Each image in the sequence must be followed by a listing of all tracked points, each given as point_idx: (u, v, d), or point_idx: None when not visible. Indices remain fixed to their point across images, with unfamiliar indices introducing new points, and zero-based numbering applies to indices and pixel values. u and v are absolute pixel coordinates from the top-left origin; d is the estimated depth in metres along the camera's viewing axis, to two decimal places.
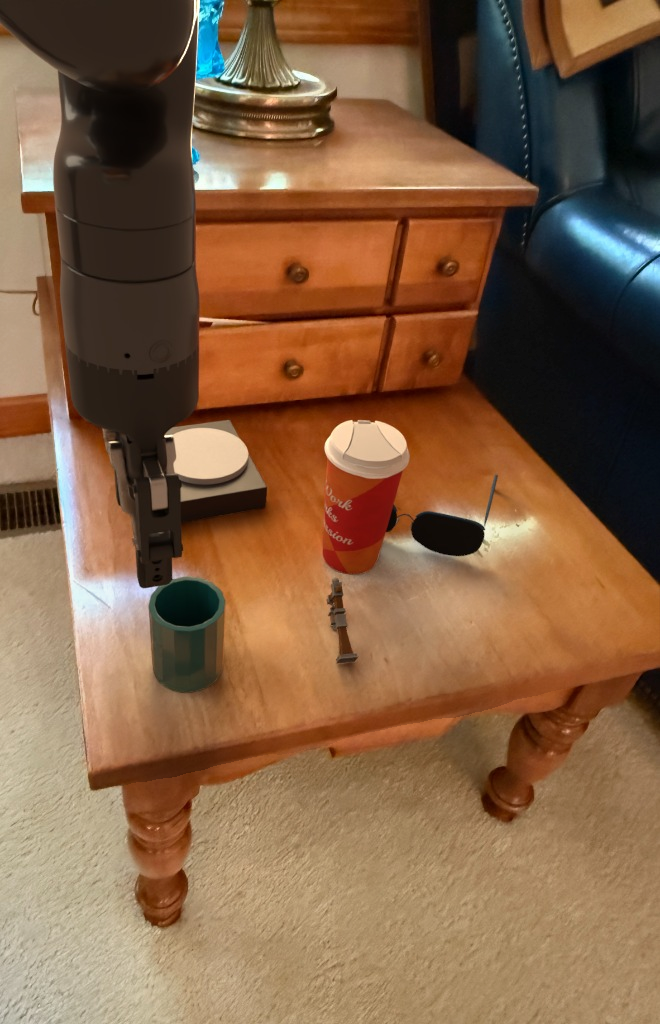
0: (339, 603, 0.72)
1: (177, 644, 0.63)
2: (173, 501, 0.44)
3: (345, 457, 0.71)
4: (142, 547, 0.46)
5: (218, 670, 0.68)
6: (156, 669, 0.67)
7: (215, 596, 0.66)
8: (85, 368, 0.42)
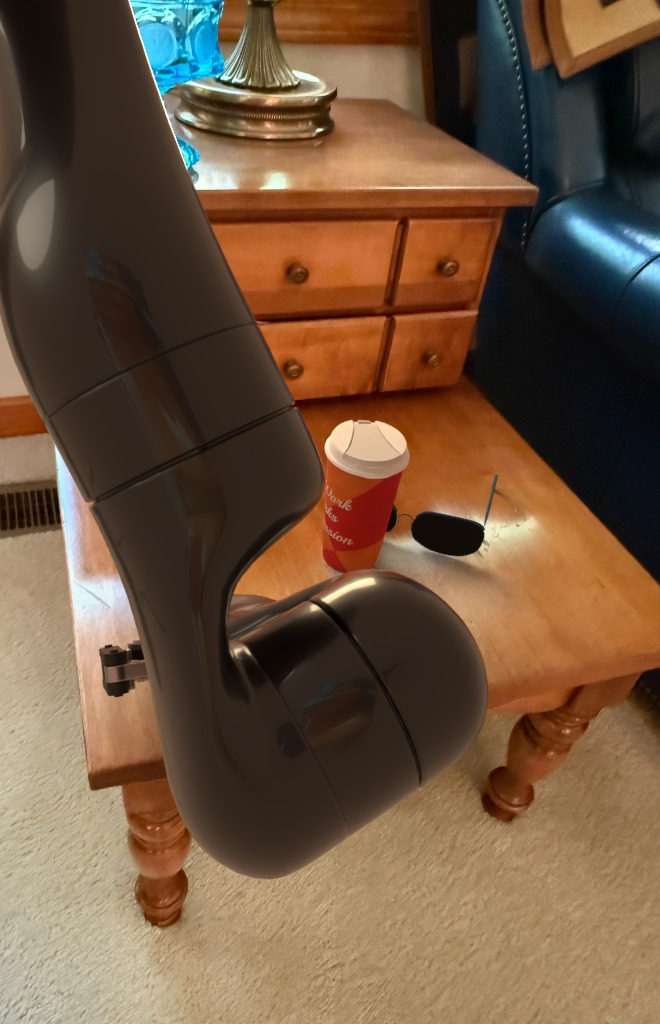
0: None
1: None
2: (106, 686, 0.46)
3: (345, 457, 0.71)
4: None
5: None
6: None
7: None
8: None
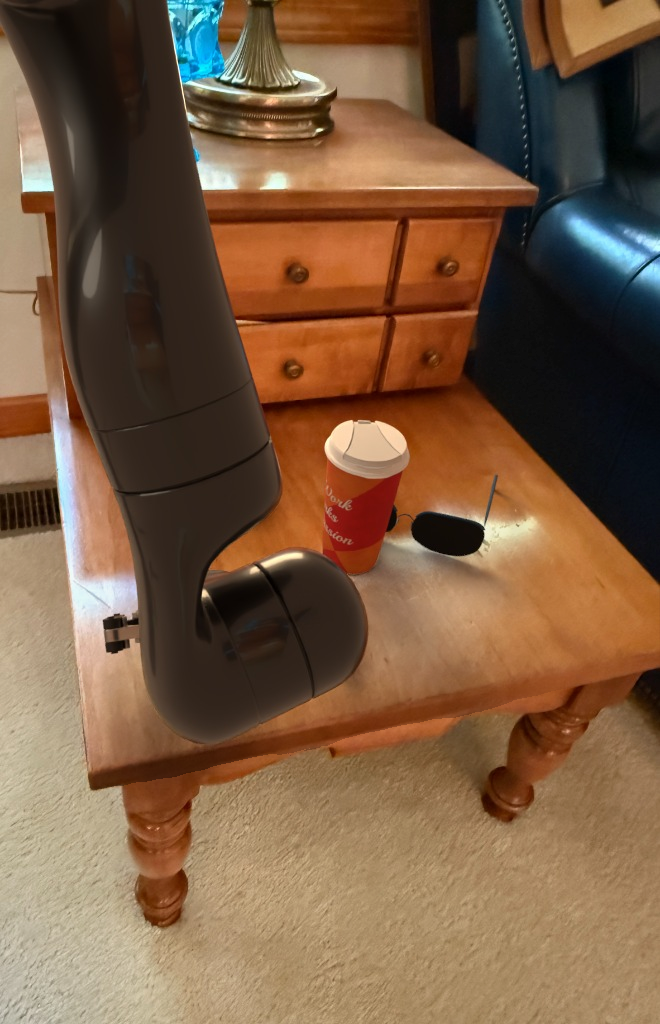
0: None
1: None
2: None
3: (345, 457, 0.71)
4: None
5: None
6: None
7: None
8: None
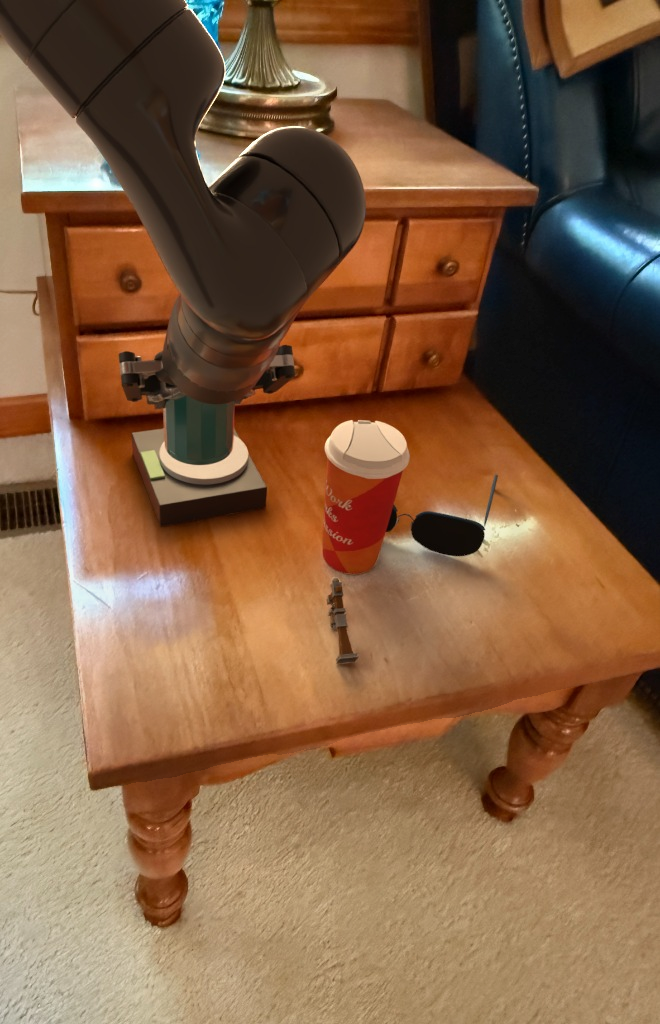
0: (339, 603, 0.72)
1: (189, 404, 0.65)
2: None
3: (345, 457, 0.71)
4: None
5: (228, 447, 0.70)
6: (168, 441, 0.69)
7: None
8: None
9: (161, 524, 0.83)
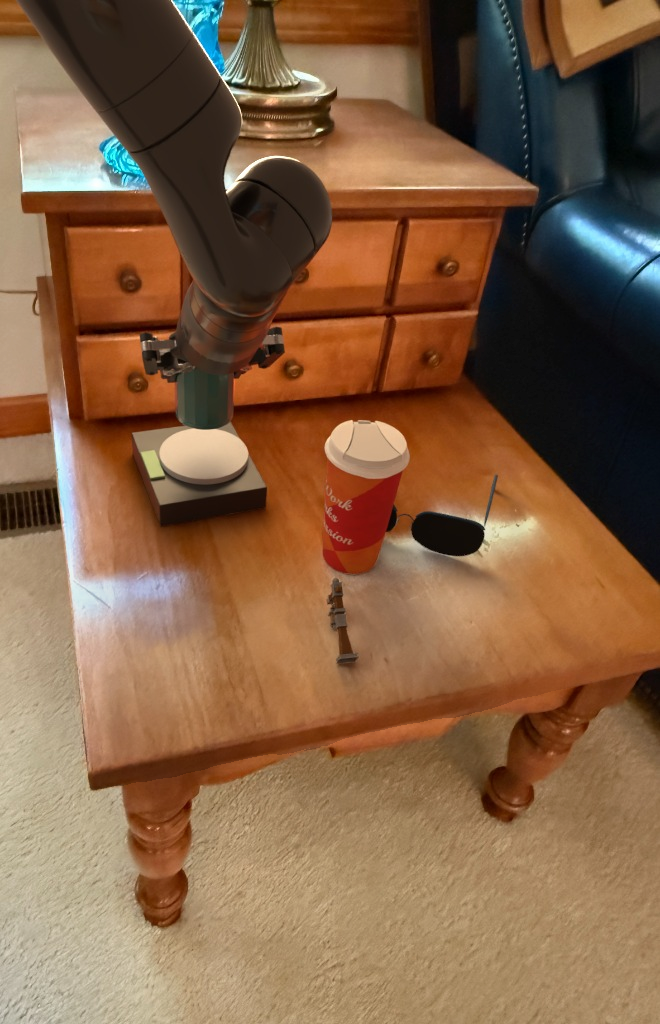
0: (339, 603, 0.72)
1: (197, 377, 0.78)
2: None
3: (345, 457, 0.71)
4: None
5: (229, 414, 0.83)
6: (179, 410, 0.82)
7: None
8: None
9: (161, 524, 0.83)
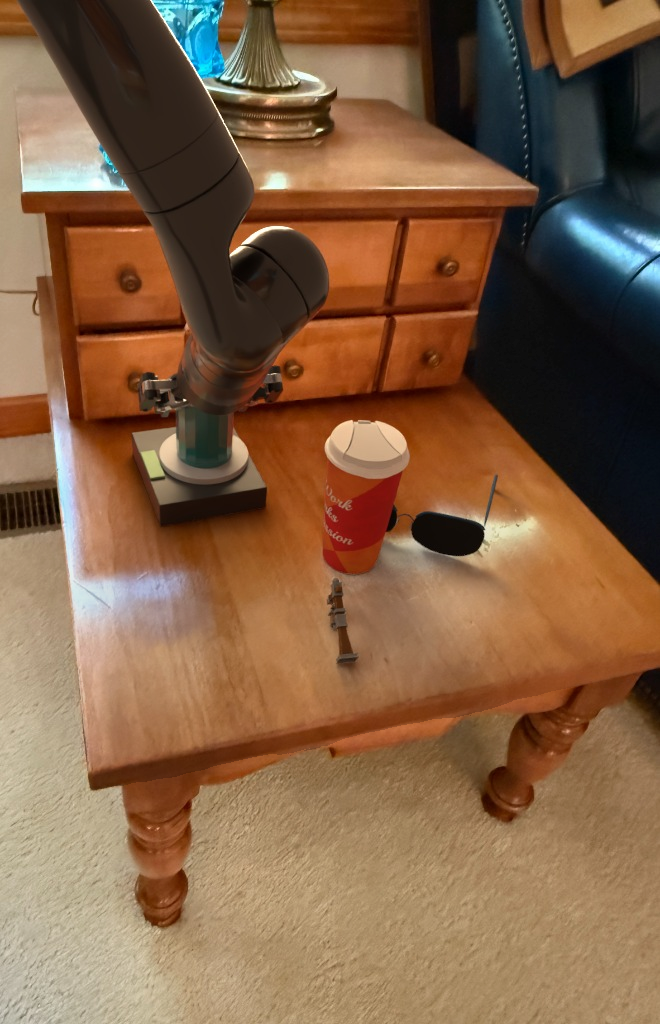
0: (339, 603, 0.72)
1: (197, 420, 0.82)
2: (143, 396, 0.75)
3: (345, 457, 0.71)
4: (137, 385, 0.78)
5: (228, 453, 0.87)
6: (180, 449, 0.85)
7: None
8: None
9: (161, 524, 0.83)
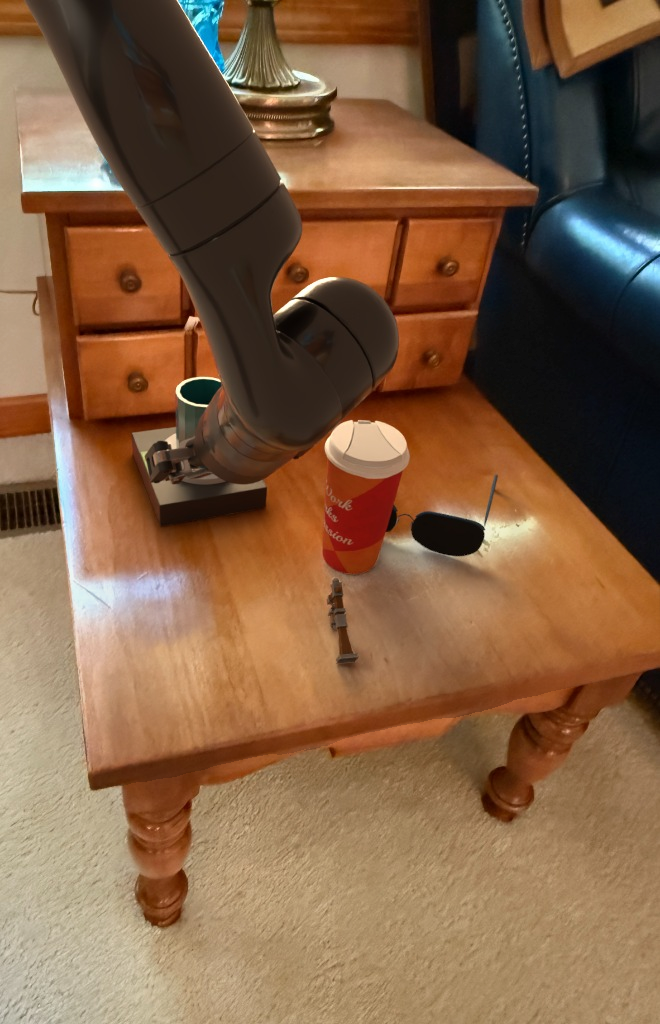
0: (339, 603, 0.72)
1: (197, 420, 0.82)
2: (156, 469, 0.64)
3: (345, 457, 0.71)
4: (146, 454, 0.67)
5: None
6: None
7: None
8: None
9: (161, 524, 0.83)
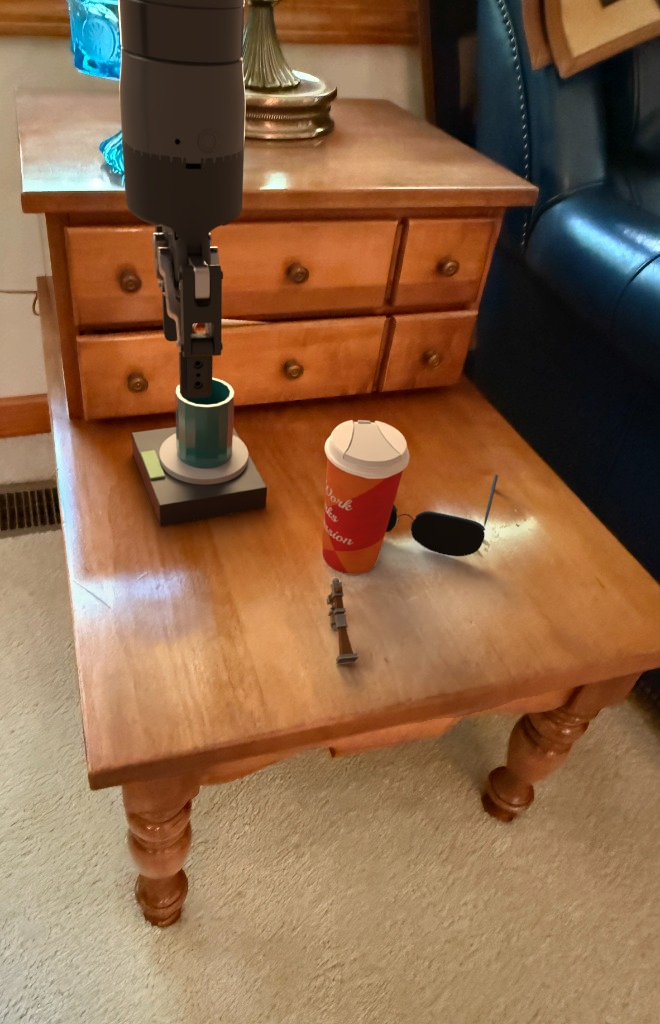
0: (339, 603, 0.72)
1: (197, 420, 0.82)
2: (215, 290, 0.48)
3: (345, 457, 0.71)
4: (185, 338, 0.49)
5: (228, 453, 0.87)
6: (180, 449, 0.85)
7: (226, 390, 0.85)
8: (139, 158, 0.46)
9: (161, 524, 0.83)
